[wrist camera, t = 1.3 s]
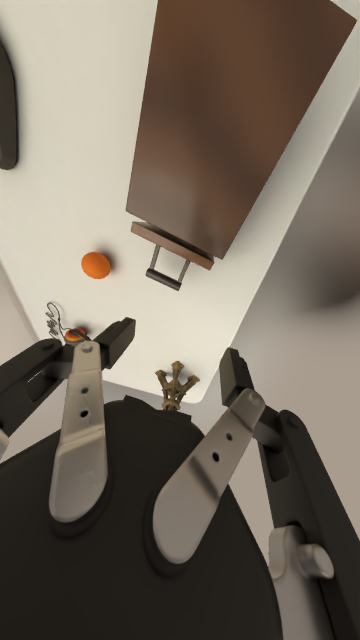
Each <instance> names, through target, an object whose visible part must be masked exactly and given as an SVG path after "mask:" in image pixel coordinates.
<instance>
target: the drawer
mask: <svg viewBox="0 0 360 640" xmlns="http://www.w3.org/2000/svg"><path fill="white" fill-rule="evenodd" d="M131 232H133V233H135V234H137V235H139V236H141V237H143V238H145V239H147V240H149V241H151V242H153V243H155V244H156V247H155V251H154V254H153V258H152V261H151V265H150V268H148V270H147V272H146V276H147V277H149V278H151V279H153V280H156V281H158V282H160V283H162V284H164V285H166V286H168V287H170V288H173V289H175V290H177V291H179V289H180V287H181V284H182V283H181V281H182V279H183V277H184V275H185V272H186V270H187V268H188V266H189V263H190V261H191V262H193V263H195V264H197V265H200V266H202V267H204V268H206V269H208V270H211V268H212V266H213V264H214V258H213V255H212V254H210V253H208V252H206V251H204V250H202V249H200V248H198V247H196V246H194V245H192V244H190V243H188V242H186V241H184V240H182V239H180V238H178V237H176V236H174V235H172V234H170V233H168V232H166V231H164V230H162V229H160V228H158V227H156V226H154V225H152V224H151V223H146V222H132V227H131ZM160 247H163V248H165V249H167V250H169V251H171V252H173V253H175V254H177V255H179V256H181V257H183V258H185V259H187V260H186V263H185V265H184V267H183V270H182V272H181V274H180V277H179V279H178V281H177V280H175V279H173V278H170V277H168V276H166V275H164V274H162V273H160V272H158V271H156V270H154V267H155V264H156V260H157V257H158V254H159V251H160Z"/></svg>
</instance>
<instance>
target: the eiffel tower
mask: <svg viewBox="0 0 360 640" xmlns="http://www.w3.org/2000/svg"><path fill="white" fill-rule="evenodd" d="M171 365H172V367H173V380H172V381H171V382H170V383H168V382H167V380H166V378H165V376H166V375H167V374H165V373H164V372H163V371H162V370H159V371H157V372H156V373H155V374H156V375H157V376H158V379H159V381H160V383H161V385H162V387H163V389H162V391H163V394H164V403H163V404H162V407H163V410H172V411H177V410H179V409H180V406H179V404H180V402H181V400H182V398H183V396H184V395H186V392H187V391H188V390H189V389H190V388H191V387H192V386H193V385H195V384H196V382H198V381H200V380H199V379H198V378H197V377H196V376H195V375H194V376H192V377H189V378H188V382H187V383H186V384H185V385H181V384H180V383H179V382H178V380H177V379H178V377H179V374H180V371H181V369H182V368H183V367H184V366H183V365H182V364H181V363H180V362H178V361H177V362H175V363H173V364H171ZM168 395H169V396H170V398H169V399H168ZM177 397H178V398H177ZM175 398H177V400H175Z"/></svg>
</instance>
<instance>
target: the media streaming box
mask: <svg viewBox="0 0 360 640" xmlns="http://www.w3.org/2000/svg"><path fill="white" fill-rule="evenodd" d="M15 163H16V114H15V97H14V84H13V76H12V72H11V68H10V64H9V61H8V59H7V56H6V54H5V51H4V49H3V47H2V45H1V43H0V168H1V169H5V170H8V169H11V168H13V167H14V165H15Z"/></svg>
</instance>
